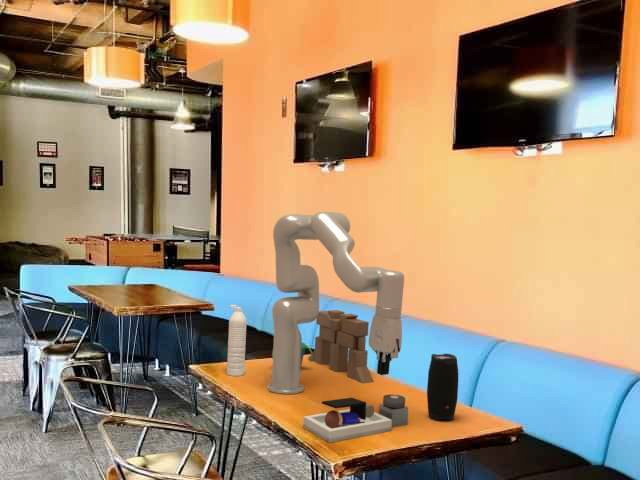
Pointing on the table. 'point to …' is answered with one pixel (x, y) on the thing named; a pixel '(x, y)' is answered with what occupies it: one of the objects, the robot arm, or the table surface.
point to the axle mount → (395, 414)
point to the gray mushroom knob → (394, 401)
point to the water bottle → (236, 343)
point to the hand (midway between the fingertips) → (382, 373)
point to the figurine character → (354, 416)
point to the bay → (346, 427)
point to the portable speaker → (442, 387)
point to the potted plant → (302, 352)
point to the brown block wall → (342, 344)
